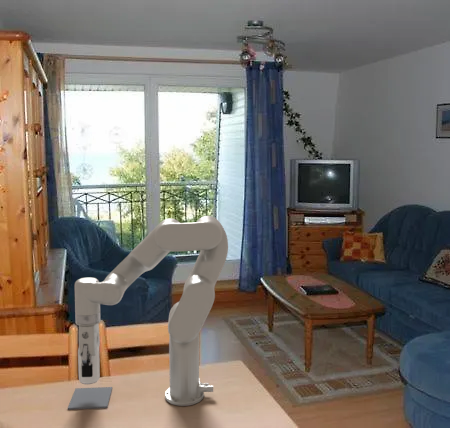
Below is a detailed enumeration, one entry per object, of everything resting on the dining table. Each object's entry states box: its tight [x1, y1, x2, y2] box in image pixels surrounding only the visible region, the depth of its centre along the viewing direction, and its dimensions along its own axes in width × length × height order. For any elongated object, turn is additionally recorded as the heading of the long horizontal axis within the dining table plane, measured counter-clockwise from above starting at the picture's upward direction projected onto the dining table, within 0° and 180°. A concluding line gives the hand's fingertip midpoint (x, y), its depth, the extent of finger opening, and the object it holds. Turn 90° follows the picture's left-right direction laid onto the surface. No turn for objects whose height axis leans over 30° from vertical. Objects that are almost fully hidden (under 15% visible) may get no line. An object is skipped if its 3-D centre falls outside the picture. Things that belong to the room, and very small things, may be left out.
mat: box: [67, 386, 113, 411], centre depth 156 cm, size 12×12×1 cm
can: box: [77, 344, 101, 385], centre depth 155 cm, size 6×6×12 cm
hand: (89, 370), depth 155 cm, fingers closed on can, 6 cm apart
